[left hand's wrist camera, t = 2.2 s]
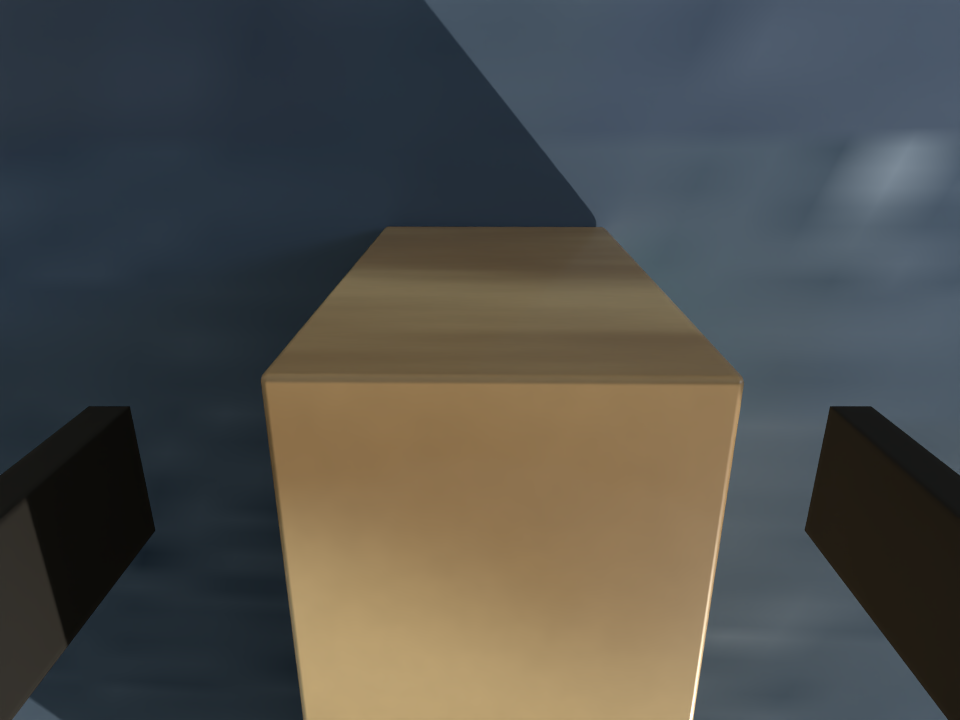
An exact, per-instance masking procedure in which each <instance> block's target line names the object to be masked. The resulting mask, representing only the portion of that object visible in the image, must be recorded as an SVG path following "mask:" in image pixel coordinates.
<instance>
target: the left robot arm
mask: <svg viewBox="0 0 960 720" xmlns="http://www.w3.org/2000/svg"><path fill="white" fill-rule="evenodd" d="M154 531H155V527H154V522H153V517H152V512H151V507H150V502H149V497H148V493H147V488H146V483H145V478H144V473H143V468H142V463H141V459H140V454H139V449H138V444H137V439H136V434H135V429H134V424H133V420H132V415H131V410H130V406H89V407H88V408H86V409H85V410H84V411H82V412H81V413H80V414H79V415H77V416H76V417H75V418H73V419H72V420H71V421H70V422H68V423H67V424H66V425H64V426H63V427H62V428H61V429H59V430H58V431H57V432H55V433H54V434H53V435H52V436H50V437H49V438H48V439H47V440H45V441H44V442H43V443H41V444H40V445H39V446H38V447H36V448H35V449H34V450H32V451H31V452H30V453H29V454H27V455H26V456H25V457H23V458H22V459H21V460H20V461H18V462H17V463H16V464H14V465H13V466H12V467H11V468H9V469H8V470H7V471H5V472H4V473H3V474H2V475H0V720H12V719H13V718H14V716H15V715H16V714H17V712H18V711H19V710H20V708H21V707H22V706H23V704H24V703H25V702H26V700H27V699H28V698H29V696H30V695H31V694H32V693H33V691H34V690H35V689H36V687H37V686H38V685H39V683H40V682H41V681H42V679H43V678H44V677H45V675H46V674H47V673H48V671H49V670H50V669H51V667H52V666H53V665H54V663H55V662H56V661H57V660H58V658H59V657H60V656H61V654H62V653H63V652H64V650H65V649H66V648H67V646H68V645H69V644H70V642H71V641H72V640H73V638H74V637H75V636H76V634H77V633H78V632H79V630H80V629H81V628H82V626H83V625H84V624H85V623H86V621H87V620H88V619H89V617H90V616H91V615H92V613H93V612H94V611H95V609H96V608H97V607H98V605H99V604H100V603H101V601H102V600H103V599H104V597H105V596H106V595H107V593H108V592H109V591H110V590H111V588H112V587H113V586H114V584H115V583H116V582H117V580H118V579H119V578H120V576H121V575H122V574H123V572H124V571H125V570H126V568H127V567H128V566H129V564H130V563H131V562H132V560H133V559H134V558H135V557H136V555H137V554H138V553H139V551H140V550H141V549H142V547H143V546H144V545H145V543H146V542H147V541H148V539H149V538H150V537H151V535H152V534H153V533H154ZM805 531H806V533H807V534H808V535H809V537H810V538H811V539H812V541H813V542H814V543H815V545H816V546H817V547H818V549H819V550H820V551H821V553H822V554H823V555H824V557H825V558H826V559H827V560H828V562H829V563H830V564H831V566H832V567H833V568H834V570H835V571H836V572H837V574H838V575H839V576H840V578H841V579H842V580H843V582H844V583H845V584H846V586H847V587H848V588H849V590H850V591H851V592H852V593H853V595H854V596H855V597H856V599H857V600H858V601H859V603H860V604H861V605H862V607H863V608H864V609H865V611H866V612H867V613H868V615H869V616H870V617H871V619H872V620H873V621H874V623H875V624H876V625H877V626H878V628H879V629H880V630H881V632H882V633H883V634H884V636H885V637H886V638H887V640H888V641H889V642H890V644H891V645H892V646H893V648H894V649H895V650H896V652H897V653H898V654H899V656H900V657H901V658H902V660H903V661H904V662H905V663H906V665H907V666H908V667H909V669H910V670H911V671H912V673H913V674H914V675H915V677H916V678H917V679H918V681H919V682H920V683H921V685H922V686H923V687H924V689H925V690H926V691H927V693H928V694H929V695H930V696H931V698H932V699H933V700H934V702H935V703H936V704H937V706H938V707H939V708H940V710H941V711H942V712H943V714H944V715H945V716H946V718H947V719H948V720H960V475H958V474H957V473H956V472H955V471H953V470H952V469H951V468H949V467H948V466H947V465H946V464H944V463H943V462H942V461H940V460H939V459H938V458H937V457H935V456H934V455H933V454H931V453H930V452H929V451H928V450H926V449H925V448H924V447H922V446H921V445H920V444H919V443H917V442H916V441H915V440H913V439H912V438H911V437H910V436H908V435H907V434H906V433H905V432H903V431H902V430H901V429H899V428H898V427H897V426H896V425H894V424H893V423H892V422H890V421H889V420H888V419H887V418H885V417H884V416H883V415H881V414H880V413H879V412H878V411H876V410H875V409H874V408H872V407H871V406H830V410H829V415H828V420H827V424H826V429H825V434H824V439H823V444H822V449H821V454H820V459H819V463H818V468H817V473H816V478H815V483H814V488H813V493H812V497H811V502H810V507H809V512H808V517H807V522H806V527H805Z"/></svg>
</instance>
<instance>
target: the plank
mask: <svg viewBox="0 0 960 720" xmlns="http://www.w3.org/2000/svg"><path fill="white" fill-rule="evenodd" d="M743 386H744V381H743V378H742V376H741V375H740V374H739V373H738V372H737V371H736V370H735V369H734V368H733V366H732V365H731V364H730V363H729V362H728V361H727V360H726V359H725V358H724V357H723V356H722V355H721V354H720V352H719V351H718V350H717V349H716V348H715V347H714V346H713V345H712V344H711V343H710V342H709V341H708V339H707V338H706V337H705V336H704V335H703V334H702V333H701V332H700V331H699V330H698V329H697V328H696V327H695V325H694V324H693V323H692V322H691V321H690V320H689V319H688V318H687V317H686V316H685V315H684V314H683V312H682V311H681V310H680V309H679V308H678V307H677V306H676V305H675V304H674V303H673V302H672V301H671V300H670V298H669V297H668V296H667V295H666V294H665V293H664V292H663V291H662V290H661V289H660V288H659V287H658V285H657V284H656V283H655V282H654V281H653V280H652V279H651V278H650V277H649V276H648V275H647V274H646V273H645V271H644V270H643V269H642V268H641V267H640V266H639V265H638V264H637V263H636V262H635V261H634V260H633V258H632V257H631V256H630V255H629V254H628V253H627V252H626V251H625V250H624V249H623V248H622V247H621V246H620V244H619V243H618V242H617V241H616V240H615V239H614V238H613V237H612V236H611V235H610V234H609V233H608V231H607V230H606V229H605V228H603V227H386V228H385V229H384V230H383V231H382V232H381V234H380V235H379V236H378V237H377V238H376V240H375V241H374V242H373V243H372V244H371V246H370V247H369V248H368V249H367V250H366V252H365V253H364V254H363V255H362V256H361V258H360V259H359V260H358V261H357V262H356V264H355V265H354V266H353V267H352V268H351V270H350V271H349V272H348V273H347V274H346V275H345V277H344V278H343V279H342V280H341V281H340V283H339V284H338V285H337V286H336V287H335V289H334V290H333V291H332V292H331V293H330V295H329V296H328V297H327V298H326V299H325V301H324V302H323V303H322V304H321V305H320V307H319V308H318V309H317V310H316V311H315V313H314V314H313V315H312V316H311V317H310V319H309V320H308V321H307V322H306V323H305V325H304V326H303V327H302V328H301V329H300V330H299V332H298V333H297V334H296V335H295V336H294V338H293V339H292V340H291V341H290V342H289V344H288V345H287V346H286V347H285V348H284V350H283V351H282V352H281V353H280V354H279V356H278V357H277V358H276V359H275V360H274V362H273V363H272V364H271V365H270V366H269V368H268V369H267V370H266V371H265V372H264V374H263V375H262V378H261V387H262V395H263V403H264V410H265V418H266V426H267V434H268V442H269V450H270V458H271V466H272V474H273V482H274V490H275V498H276V506H277V514H278V522H279V530H280V538H281V546H282V554H283V562H284V570H285V578H286V585H287V593H288V601H289V609H290V617H291V625H292V633H293V641H294V649H295V657H296V665H297V673H298V681H299V689H300V697H301V705H302V713H303V720H693V716H694V709H695V702H696V696H697V689H698V683H699V676H700V669H701V663H702V656H703V650H704V643H705V636H706V630H707V623H708V617H709V610H710V603H711V597H712V590H713V584H714V577H715V570H716V564H717V557H718V551H719V544H720V537H721V531H722V524H723V518H724V511H725V504H726V498H727V491H728V485H729V478H730V471H731V465H732V458H733V452H734V445H735V438H736V432H737V425H738V419H739V412H740V406H741V399H742V392H743Z"/></svg>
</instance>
